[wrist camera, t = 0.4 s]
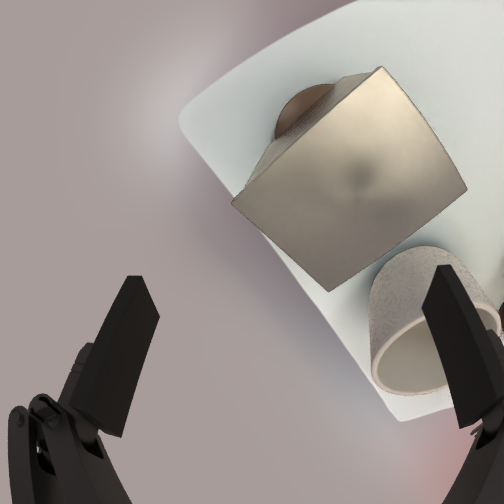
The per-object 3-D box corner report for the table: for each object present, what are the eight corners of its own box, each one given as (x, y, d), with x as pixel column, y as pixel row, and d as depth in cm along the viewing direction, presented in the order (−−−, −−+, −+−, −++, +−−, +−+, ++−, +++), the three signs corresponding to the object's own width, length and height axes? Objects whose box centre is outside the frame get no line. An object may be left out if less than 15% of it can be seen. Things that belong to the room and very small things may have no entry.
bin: (253, 158, 32) (212, 221, 19) (344, 74, 25) (382, 65, 12) (310, 213, 35) (309, 305, 21) (400, 138, 28) (468, 190, 14)
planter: (387, 332, 45) (400, 408, 33) (337, 268, 40) (344, 355, 28) (470, 284, 37) (506, 355, 25) (437, 204, 32) (491, 274, 19)
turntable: (274, 82, 28) (272, 82, 27) (388, 90, 26) (392, 90, 25) (276, 188, 35) (275, 192, 34) (380, 194, 33) (383, 198, 32)
